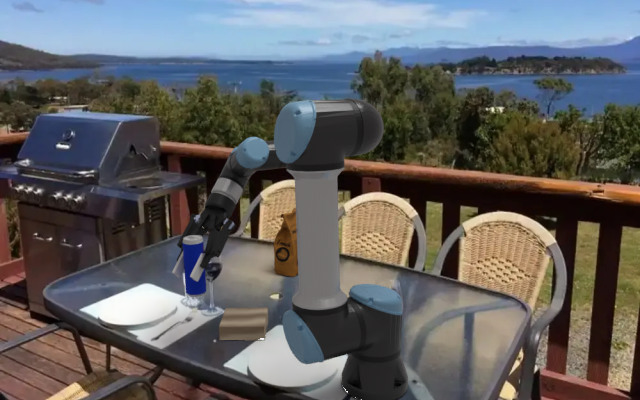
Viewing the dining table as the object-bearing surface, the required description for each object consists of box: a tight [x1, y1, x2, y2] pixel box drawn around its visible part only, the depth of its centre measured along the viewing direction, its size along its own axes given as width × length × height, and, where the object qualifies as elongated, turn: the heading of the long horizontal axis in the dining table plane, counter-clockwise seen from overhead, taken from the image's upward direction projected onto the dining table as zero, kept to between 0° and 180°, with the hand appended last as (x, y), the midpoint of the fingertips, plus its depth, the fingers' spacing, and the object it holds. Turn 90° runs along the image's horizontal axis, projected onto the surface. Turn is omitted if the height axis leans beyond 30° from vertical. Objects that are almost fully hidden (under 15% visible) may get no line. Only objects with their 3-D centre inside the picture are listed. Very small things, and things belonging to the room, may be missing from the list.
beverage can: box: [182, 235, 207, 298], centre depth 145 cm, size 5×5×15 cm
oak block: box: [218, 307, 269, 341], centre depth 157 cm, size 12×12×4 cm
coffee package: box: [273, 207, 298, 278], centre depth 200 cm, size 10×12×22 cm
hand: (184, 276), depth 142 cm, fingers closed on beverage can, 5 cm apart
